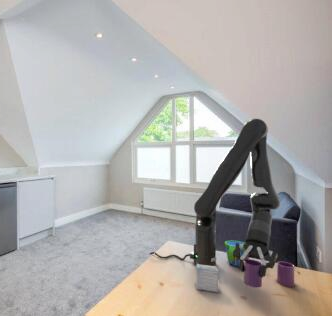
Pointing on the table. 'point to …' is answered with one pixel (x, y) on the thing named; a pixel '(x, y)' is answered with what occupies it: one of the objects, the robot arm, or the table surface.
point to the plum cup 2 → (285, 274)
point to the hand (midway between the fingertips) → (251, 273)
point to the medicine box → (207, 277)
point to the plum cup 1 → (252, 273)
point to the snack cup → (233, 251)
